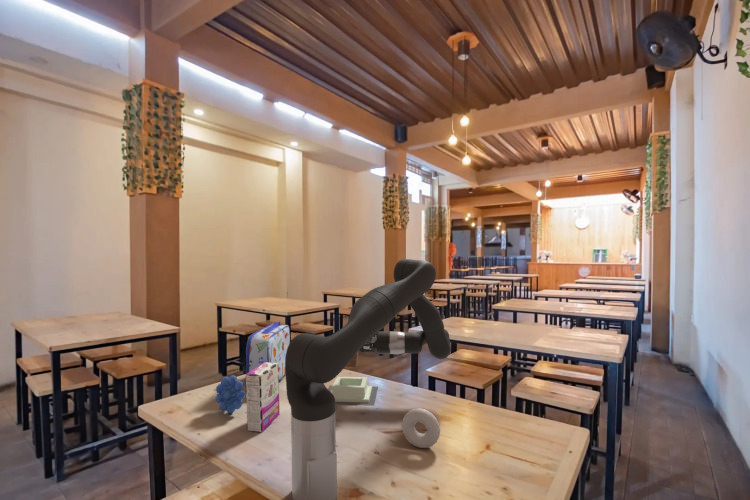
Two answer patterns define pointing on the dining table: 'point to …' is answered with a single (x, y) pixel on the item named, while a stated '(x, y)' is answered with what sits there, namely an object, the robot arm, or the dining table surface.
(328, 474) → the robot arm
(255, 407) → the candy bar box
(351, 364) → the walnut block
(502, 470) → the dining table surface
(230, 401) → the grapes
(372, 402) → the mat
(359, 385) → the holder
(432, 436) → the donut
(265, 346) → the lunch box
